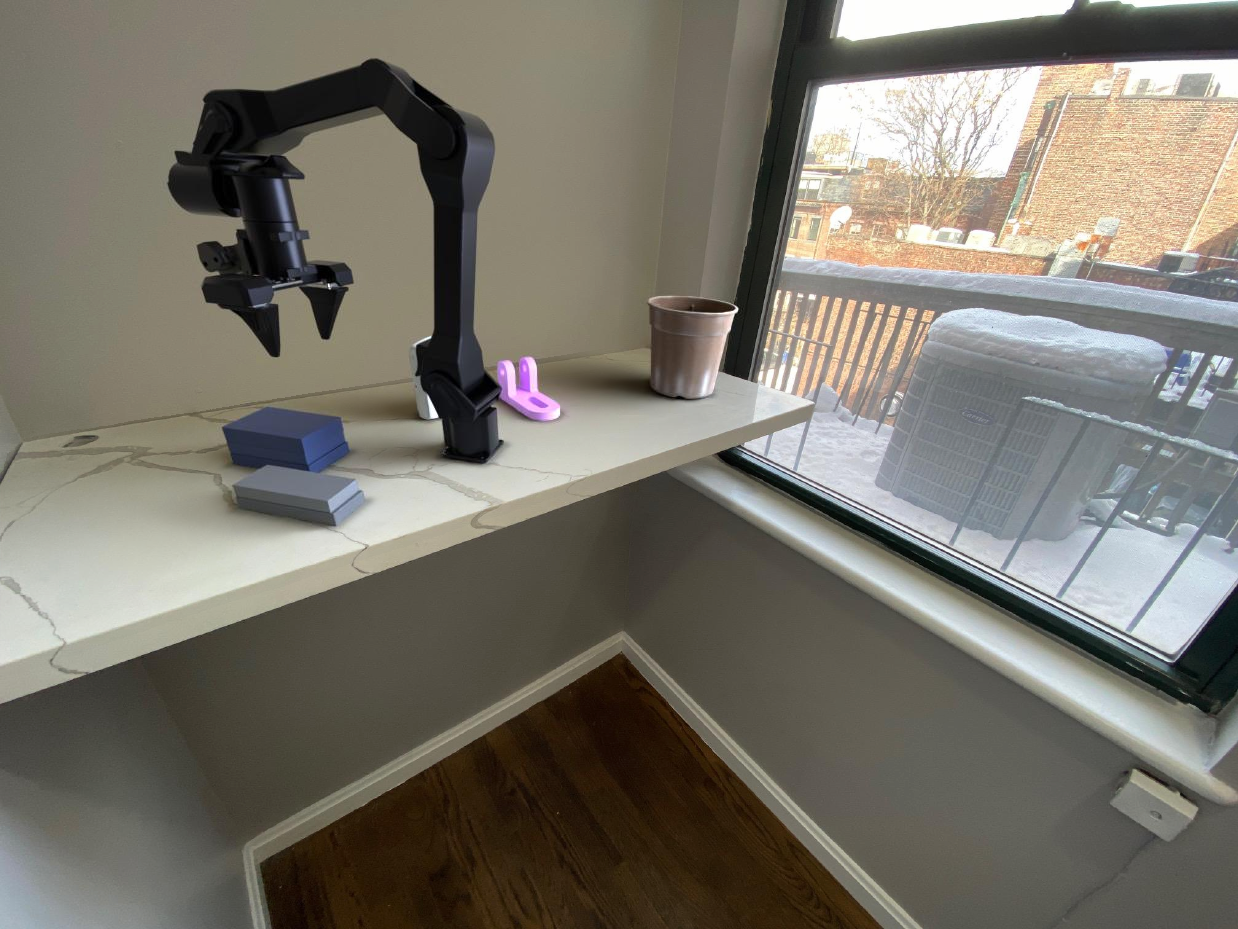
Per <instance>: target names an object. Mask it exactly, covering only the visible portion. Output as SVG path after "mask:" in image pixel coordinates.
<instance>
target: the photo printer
mask: <svg viewBox="0 0 1238 929" xmlns="http://www.w3.org/2000/svg"><path fill="white" fill-rule="evenodd" d="M431 336H432V335H429V336H427V337H424V338H422V339H420V340H418V341H416V342H414V343H413V344H411V345H410V347H409V350H408V356H409V362H410V369H411V375H412V381H413V382H412V383H413V388H414V395H415V401H416V408H417V412H418V414H419V417H420V418H421V419H424V420H433V419H438V418H439V417H438V415H437V413H436V411H435V409H434V406H433V404H432V402H431V400H430V398H429V396H428V394H427V393H426V392H424V391H423V390H422V387H421V383H420V376H418V377H416V376H415V373H416V371H417V365H418V364H417V357H416V345H417V344H419V343H421V342H423V341H425V340H427V339H430V338H431Z"/></svg>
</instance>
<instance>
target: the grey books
mask: <svg viewBox="0 0 1238 929" xmlns="http://www.w3.org/2000/svg"><path fill="white" fill-rule="evenodd" d="M231 486H232V489H233V492H234V494H235V500H236V503H237V506H238V509H241V510H246V511H252V512H258V513H264V514H268V515H274V516H280V517H285V518H291V519H296V520H301V521H308V522H314V523H318V524H319V523H320V524H325V525H331V526H338V525H339V524H340V523H342V522H343V521H344V520H345V519H346V518H348V517H349V516H350V515H351V514H352V513H354V512H355V511H356V510H357V509H358V508H360V507H361V506H362V505H363V504H365V503H366V496H365V492H364V490H361V489H360V487H359V481H358V479H357V478H351V477H347V476H346V477H345V476H338V475H333V474H327V473H322V472H321V473H320V472H319V473H315V472H309V471H303V470H297V469H291V468H284V467H278V466H272V465H266V466H264V467H262V468H261V469H257V470H255V471H254V472H252V473H250V474H248V475H246V476H244V477H243V478H242V479H239V480H238V481H236V482H235V483H232V484H231Z"/></svg>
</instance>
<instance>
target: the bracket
mask: <svg viewBox="0 0 1238 929" xmlns="http://www.w3.org/2000/svg"><path fill="white" fill-rule="evenodd" d="M496 368H497V369H496V374H497V383H498V384H499V385H500V386H501V387H502V392H501V395H500V398H499V399H501V400H502V401H503V402H505V403H507V405H510V406H511V407H512V408H514V409H515V410H516V411H518V412H519V413H521V414H523V415H524V416H526V417H527V418H528V419H530V420H533V421H534V420H535V421H543V422H544V421H552V420H554V419H557V418H559V416H560V415H561V404H560V403H559V402H557V401H555V400H554V399H552V398H550V397H548V396H547V395H546V394H544V393H542V392H541V391H539V389H538V368H537V364H536V361H535V359H534V358H533V356H532V357H531V356H524V357H520V359H519V361H518V369H519V370H518V373H519V385H516V371H515V366H514V364H513V363H512V361H511V360H510V359H504V360H499V361H498V362H497V366H496Z"/></svg>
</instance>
